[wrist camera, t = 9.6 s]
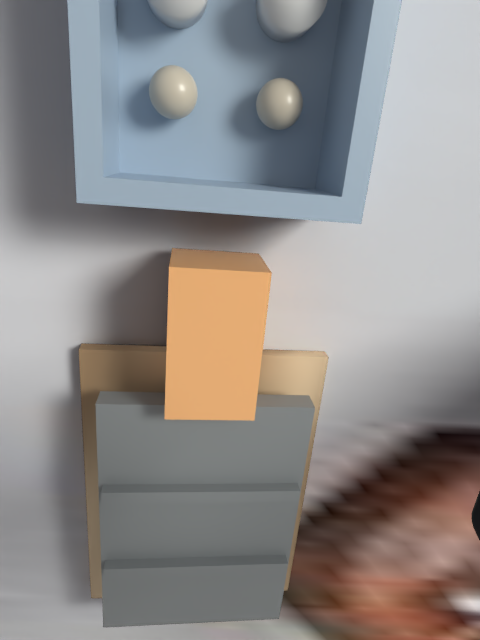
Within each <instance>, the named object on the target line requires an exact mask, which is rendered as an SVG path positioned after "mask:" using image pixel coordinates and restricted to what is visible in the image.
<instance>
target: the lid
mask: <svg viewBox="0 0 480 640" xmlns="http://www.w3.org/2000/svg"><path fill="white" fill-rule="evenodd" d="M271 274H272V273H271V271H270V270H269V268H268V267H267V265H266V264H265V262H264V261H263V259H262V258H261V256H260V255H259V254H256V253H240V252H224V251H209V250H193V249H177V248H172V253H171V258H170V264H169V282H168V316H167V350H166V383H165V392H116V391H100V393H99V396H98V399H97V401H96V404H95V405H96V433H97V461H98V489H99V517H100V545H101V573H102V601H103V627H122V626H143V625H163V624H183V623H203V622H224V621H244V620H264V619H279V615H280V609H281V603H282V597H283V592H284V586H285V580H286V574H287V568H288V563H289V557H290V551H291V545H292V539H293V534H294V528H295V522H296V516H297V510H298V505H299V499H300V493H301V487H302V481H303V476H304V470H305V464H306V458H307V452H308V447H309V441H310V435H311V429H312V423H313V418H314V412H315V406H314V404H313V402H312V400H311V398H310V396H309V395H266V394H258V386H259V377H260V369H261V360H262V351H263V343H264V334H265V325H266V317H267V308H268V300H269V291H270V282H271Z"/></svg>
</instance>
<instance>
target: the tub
mask: <svg viewBox="0 0 480 640" xmlns="http://www.w3.org/2000/svg"><path fill="white" fill-rule="evenodd" d="M67 3H68V25H69V47H70V69H71V91H72V112H73V134H74V156H75V178H76V199H77V203H86V204H99V205H113V206H126V207H140V208H153V209H167V210H180V211H194V212H207V213H221V214H234V215H248V216H261V217H275V218H288V219H302V220H315V221H329V222H342V223H356V224H361V222H362V216H363V211H364V205H365V200H366V195H367V189H368V184H369V178H370V173H371V167H372V162H373V156H374V151H375V145H376V140H377V134H378V129H379V124H380V118H381V113H382V107H383V102H384V96H385V91H386V85H387V80H388V74H389V69H390V63H391V58H392V53H393V47H394V42H395V36H396V31H397V25H398V20H399V14H400V9H401V3H402V0H67Z"/></svg>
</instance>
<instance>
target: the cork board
mask: <svg viewBox="0 0 480 640" xmlns="http://www.w3.org/2000/svg"><path fill="white" fill-rule="evenodd" d="M166 350H167V346H141V345H111V344H81V346H80V348H79V366H80V386H81V406H82V426H83V446H84V466H85V486H86V506H87V526H88V546H89V566H90V586H91V598H102V573H101V545H100V517H99V489H98V461H97V433H96V405H95V404H96V401H97V399H98V396H99V393H100V391H116V392H165V383H166ZM327 363H328V356H327V354H326V353H325V352H322V351H292V350H263V351H262V360H261V369H260V377H259V386H258V394H266V395H309V396H310V398H311V400H312V402H313V404H314V406H315V412H314V418H313V423H312V429H311V435H310V441H309V447H308V452H307V458H306V464H305V470H304V476H303V481H302V487H301V493H300V499H299V505H298V510H297V516H296V522H295V528H294V534H293V539H292V545H291V551H290V557H289V563H288V568H287V574H286V580H285V586H284V590H288V585H289V579H290V574H291V568H292V562H293V557H294V551H295V545H296V539H297V534H298V528H299V522H300V517H301V511H302V505H303V500H304V494H305V488H306V483H307V477H308V471H309V465H310V460H311V454H312V448H313V443H314V437H315V431H316V426H317V420H318V414H319V409H320V403H321V397H322V391H323V386H324V380H325V374H326V369H327Z"/></svg>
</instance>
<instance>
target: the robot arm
mask: <svg viewBox="0 0 480 640" xmlns="http://www.w3.org/2000/svg"><path fill="white" fill-rule="evenodd" d="M472 524H473V527H474V529H475V531H476V534H477V536H478V538H479V540H480V491H479V494H478V497H477V500H476V503H475V505H474V508H473V511H472Z"/></svg>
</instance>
